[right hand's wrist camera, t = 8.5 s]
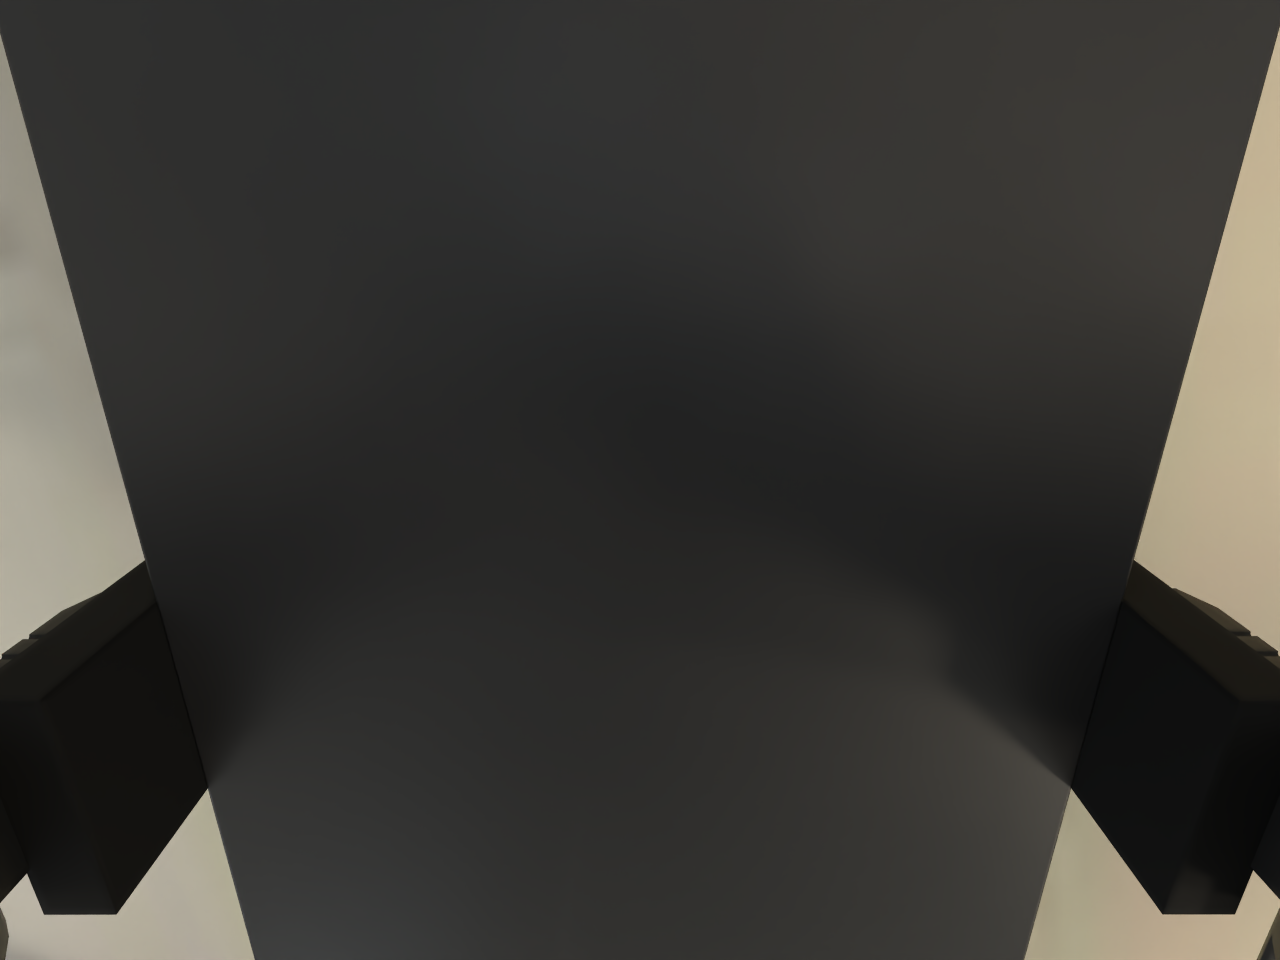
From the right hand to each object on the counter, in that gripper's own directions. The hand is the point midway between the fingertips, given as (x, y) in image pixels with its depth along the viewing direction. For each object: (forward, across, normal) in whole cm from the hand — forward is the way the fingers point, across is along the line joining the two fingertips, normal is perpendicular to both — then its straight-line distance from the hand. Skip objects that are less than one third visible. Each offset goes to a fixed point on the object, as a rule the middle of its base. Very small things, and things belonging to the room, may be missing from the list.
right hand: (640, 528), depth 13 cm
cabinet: (+3, 0, -3) cm, 4 cm away
